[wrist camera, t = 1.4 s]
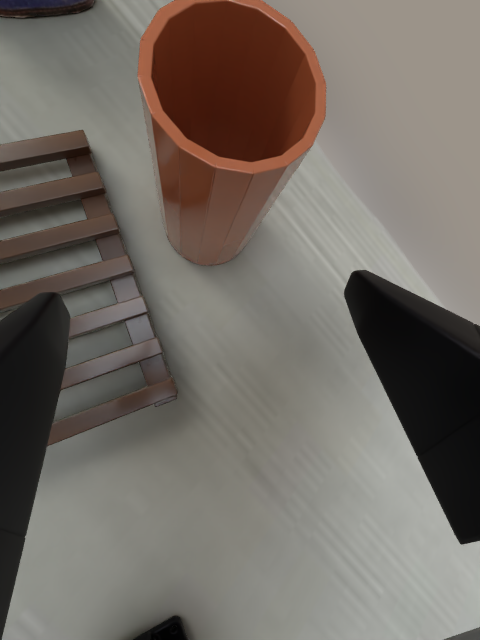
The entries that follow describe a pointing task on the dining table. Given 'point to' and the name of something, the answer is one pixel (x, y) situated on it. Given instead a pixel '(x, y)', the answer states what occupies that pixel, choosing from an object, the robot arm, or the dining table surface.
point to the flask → (42, 7)
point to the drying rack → (84, 275)
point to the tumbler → (225, 118)
